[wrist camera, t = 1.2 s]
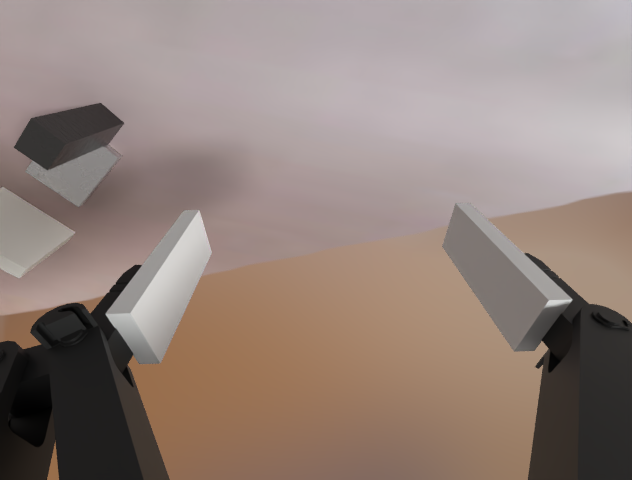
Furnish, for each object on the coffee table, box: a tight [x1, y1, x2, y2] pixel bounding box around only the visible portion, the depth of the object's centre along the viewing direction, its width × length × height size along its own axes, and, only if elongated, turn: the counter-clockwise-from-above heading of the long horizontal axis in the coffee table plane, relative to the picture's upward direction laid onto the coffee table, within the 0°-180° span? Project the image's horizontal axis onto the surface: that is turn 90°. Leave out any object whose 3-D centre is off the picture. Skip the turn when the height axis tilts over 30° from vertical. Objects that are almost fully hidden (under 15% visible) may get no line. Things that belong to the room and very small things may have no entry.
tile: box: [0, 187, 76, 278], centre depth 38 cm, size 10×3×9 cm, turn 40°
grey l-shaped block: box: [14, 103, 124, 207], centre depth 32 cm, size 7×15×10 cm, turn 130°
